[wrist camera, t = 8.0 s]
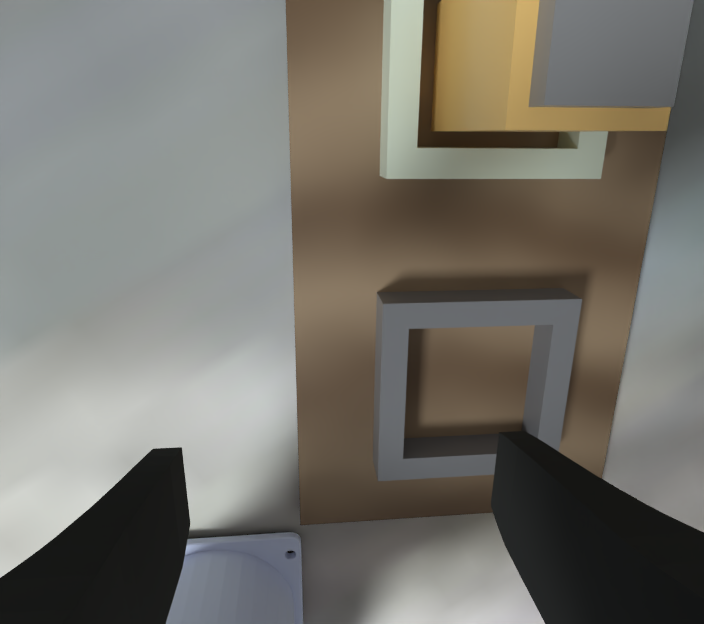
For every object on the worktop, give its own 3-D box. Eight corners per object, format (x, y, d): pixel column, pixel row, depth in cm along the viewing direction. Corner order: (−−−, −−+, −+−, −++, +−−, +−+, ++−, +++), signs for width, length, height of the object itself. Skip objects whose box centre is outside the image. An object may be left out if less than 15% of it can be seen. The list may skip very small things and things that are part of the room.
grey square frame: (540, 450, 24) (555, 470, 22) (372, 459, 23) (377, 481, 22) (563, 287, 21) (582, 298, 20) (376, 292, 21) (382, 303, 19)
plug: (538, 131, 19) (690, 130, 12) (431, 131, 19) (518, 129, 11) (552, 7, 18) (732, -81, 11) (437, 4, 18) (540, -90, 10)
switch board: (585, 492, 26) (596, 505, 25) (300, 510, 25) (300, 525, 24) (701, -158, 18) (724, -174, 17) (281, -188, 16) (280, -207, 15)
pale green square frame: (579, 175, 20) (600, 178, 18) (379, 175, 19) (386, 179, 18) (612, -61, 17) (640, -78, 16) (385, -72, 17) (394, -91, 15)
